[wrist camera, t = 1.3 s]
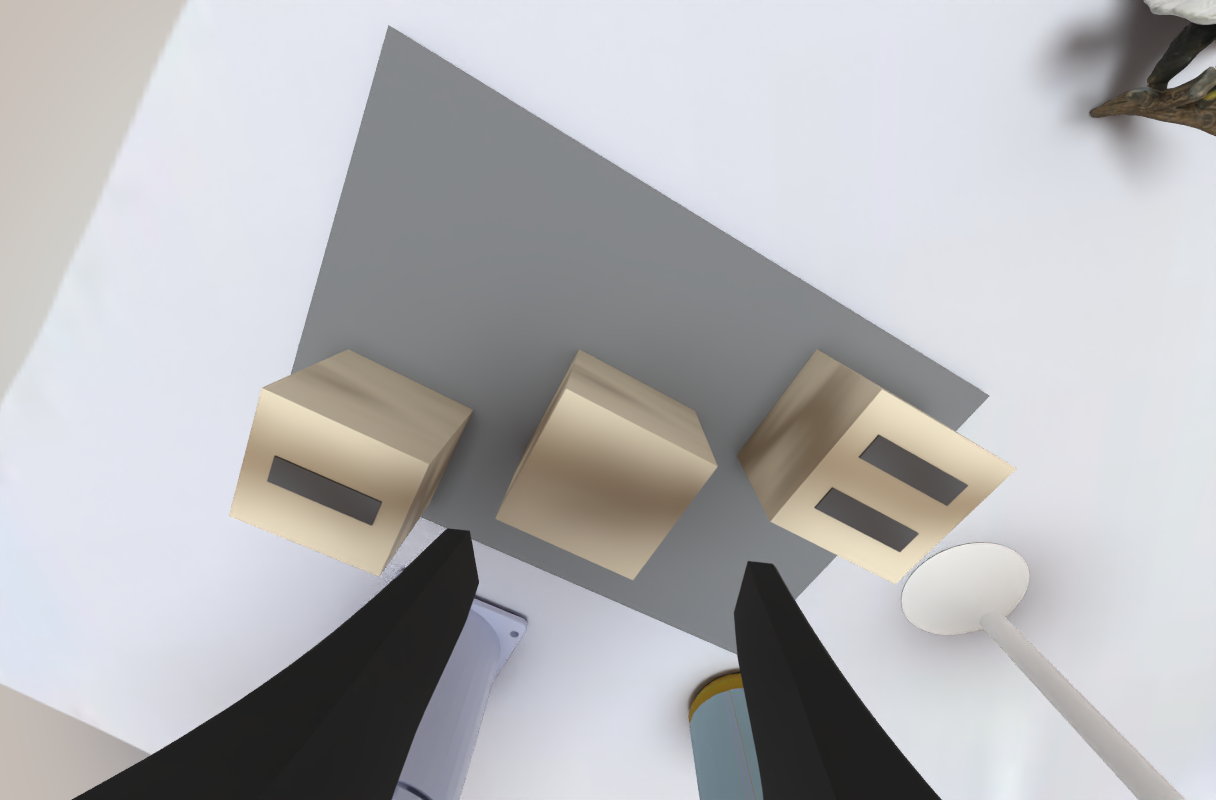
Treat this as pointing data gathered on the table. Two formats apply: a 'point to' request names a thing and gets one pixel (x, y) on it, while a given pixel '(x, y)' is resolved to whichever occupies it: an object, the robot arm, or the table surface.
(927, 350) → the table surface
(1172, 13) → the eagle figurine
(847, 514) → the two-bar birch block
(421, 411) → the one-bar birch block
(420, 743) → the robot arm
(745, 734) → the bottle
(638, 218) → the charcoal rubber mat
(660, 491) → the plain birch block
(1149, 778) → the champagne flute
